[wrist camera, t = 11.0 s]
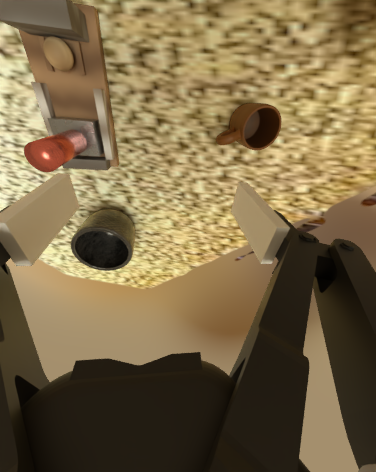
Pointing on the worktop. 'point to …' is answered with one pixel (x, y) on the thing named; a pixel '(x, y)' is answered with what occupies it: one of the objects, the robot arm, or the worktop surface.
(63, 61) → the walnut
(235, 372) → the robot arm
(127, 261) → the planter
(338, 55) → the worktop surface
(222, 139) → the mug
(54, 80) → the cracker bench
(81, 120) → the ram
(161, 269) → the worktop surface
